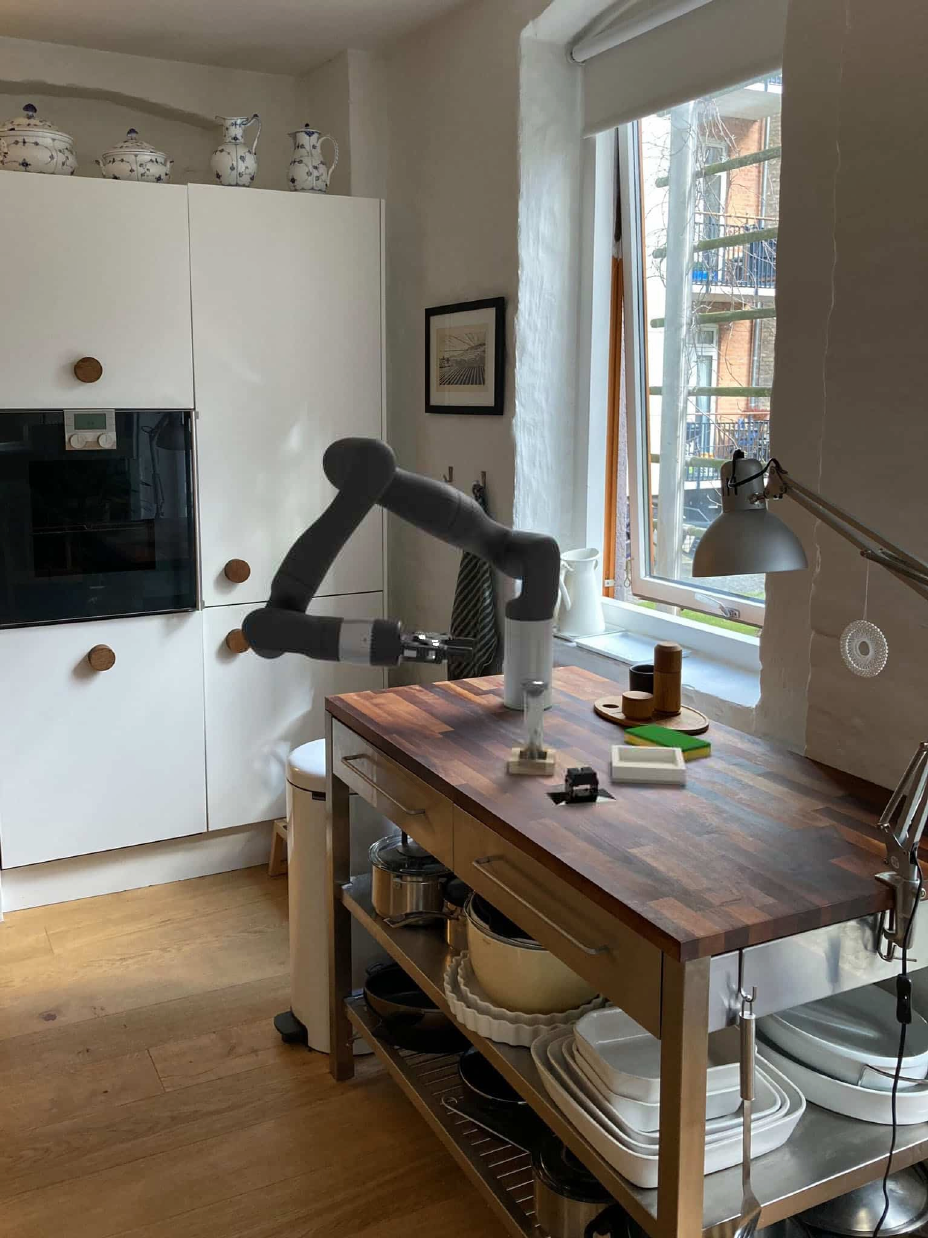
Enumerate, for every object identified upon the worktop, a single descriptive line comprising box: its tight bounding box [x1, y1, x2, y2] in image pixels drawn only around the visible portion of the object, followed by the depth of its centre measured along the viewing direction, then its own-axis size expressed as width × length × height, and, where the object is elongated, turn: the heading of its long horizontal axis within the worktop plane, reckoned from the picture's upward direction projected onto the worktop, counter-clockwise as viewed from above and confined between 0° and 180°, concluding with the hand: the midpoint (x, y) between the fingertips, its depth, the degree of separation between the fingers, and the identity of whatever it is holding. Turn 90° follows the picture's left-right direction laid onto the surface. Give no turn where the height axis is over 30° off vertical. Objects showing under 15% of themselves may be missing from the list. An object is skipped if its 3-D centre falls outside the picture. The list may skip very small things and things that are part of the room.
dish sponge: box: [624, 723, 712, 762], centre depth 190 cm, size 7×14×2 cm, turn 33°
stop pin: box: [520, 678, 548, 760], centre depth 178 cm, size 4×4×14 cm
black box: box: [545, 766, 617, 806], centre depth 165 cm, size 12×7×5 cm, turn 103°
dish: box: [610, 744, 687, 786], centre depth 177 cm, size 11×11×2 cm
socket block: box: [508, 747, 557, 776], centre depth 179 cm, size 7×7×2 cm
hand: (473, 650), depth 176 cm, fingers open, 8 cm apart
